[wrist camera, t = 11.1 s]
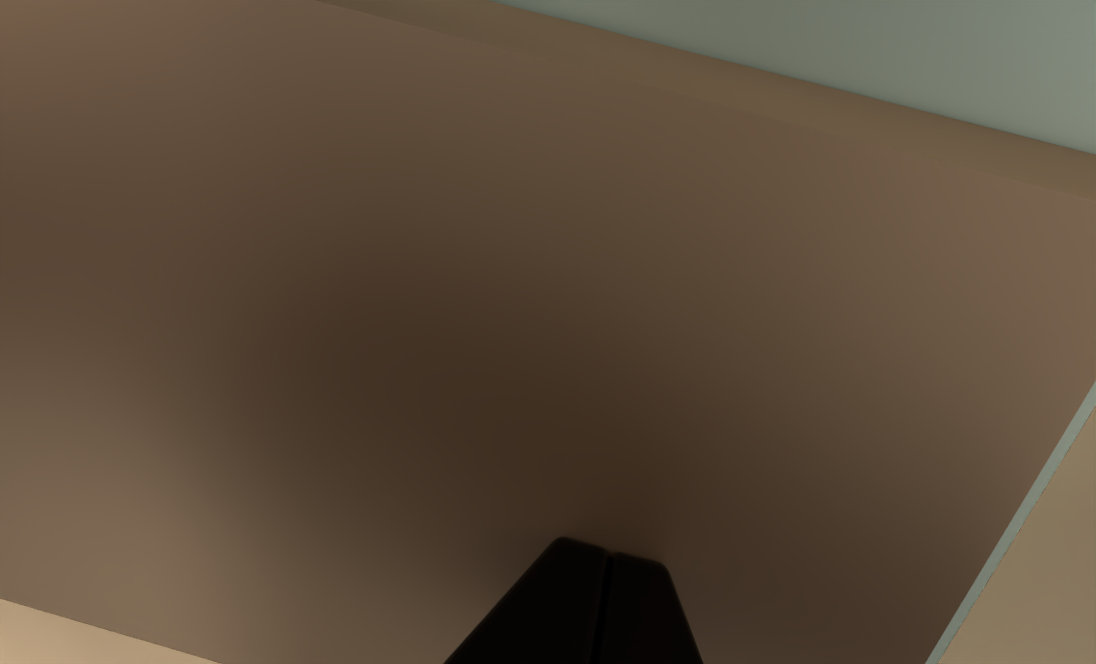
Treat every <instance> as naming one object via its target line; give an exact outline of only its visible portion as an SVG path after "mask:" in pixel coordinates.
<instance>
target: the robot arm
mask: <svg viewBox="0 0 1096 664" xmlns="http://www.w3.org/2000/svg"><path fill="white" fill-rule="evenodd" d="M608 562H609V555H608V552H607V550H606V549H605V548H603V547H601V546H598V545H594V544H590V543H587V542H583V541H579V540H575V539H572V538H568V537H563V536H562V537H558V538H556V539H555V540H553V541H552V542H551V543H550V544H549V545H548V547H547V548H546V549H545V550H544V551H543V552H542V553H541V554H540V555H539V557H538V558H537V559H536V560H535V561H534V562H533V563H532V564H531V566H530V567H529V568H528V569H527V570H526V571H525V572H524V573H523V574H522V576H521V577H520V578H519V579H518V580H517V581H516V582H515V583H514V585H513V586H512V587H511V588H510V589H509V590H508V591H507V592H506V593H505V595H504V596H503V597H502V598H501V599H500V600H499V601H498V602H497V604H496V605H495V606H494V607H493V608H492V609H491V610H490V611H489V612H488V614H487V615H486V616H485V617H484V618H483V619H482V620H481V621H480V623H479V624H478V625H477V626H476V627H475V628H474V629H473V630H472V631H471V633H470V634H469V635H468V636H467V637H466V638H465V639H464V640H463V642H462V643H461V644H460V645H459V646H458V647H457V648H456V649H455V650H454V652H453V653H452V654H451V655H450V656H449V657H448V658H447V659H446V661H445V662H444V663H443V664H704V663H703V660H702V657H701V655H700V652H699V649H698V647H697V644H696V642H695V639H694V636H693V634H692V631H691V628H690V626H689V623H688V620H687V618H686V615H685V612H684V610H683V607H682V604H681V602H680V599H679V596H678V594H677V591H676V588H675V586H674V583H673V580H672V578H671V575H670V573H669V571H668V569H667V568H666V567H665V566H664V565H663V564H661V563H659V562H656V561H652V560H649V559H645V558H641V557H638V556H634V555H630V554H627V553H623V552H619V553H616V554H614V555H613V556H612V557H611V559H610V562H609V564H608Z"/></svg>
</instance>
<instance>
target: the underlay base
mask: <svg viewBox="0 0 1096 664" xmlns="http://www.w3.org/2000/svg"><path fill="white" fill-rule="evenodd" d="M488 1H492V2H496V3H500V4H504V5H508V6H512V7H516V8H520V9H524V10H528V11H532V12H536V13H540V14H543V15H547V16H551V17H555V18H559V19H563V20H567V21H571V22H575V23H579V24H583V25H587V26H591V27H595V28H599V29H603V30H606V31H610V32H614V33H618V34H622V35H626V36H630V37H634V38H638V39H642V40H646V41H650V42H654V43H658V44H662V45H666V46H669V47H673V48H677V49H681V50H685V51H689V52H693V53H697V54H701V55H705V56H709V57H713V58H717V59H721V60H725V61H728V62H732V63H736V64H740V65H744V66H748V67H752V68H756V69H760V70H764V71H768V72H772V73H776V74H780V75H784V76H788V77H791V78H795V79H799V80H803V81H807V82H811V83H815V84H819V85H823V86H827V87H831V88H835V89H839V90H843V91H847V92H850V93H854V94H858V95H862V96H866V97H870V98H874V99H878V100H882V101H886V102H890V103H894V104H898V105H902V106H906V107H910V108H913V109H917V110H921V111H925V112H929V113H933V114H937V115H941V116H945V117H949V118H953V119H957V120H961V121H965V122H969V123H972V124H976V125H980V126H984V127H988V128H992V129H996V130H1000V131H1004V132H1008V133H1012V134H1016V135H1020V136H1024V137H1028V138H1032V139H1035V140H1039V141H1043V142H1047V143H1051V144H1055V145H1059V146H1063V147H1067V148H1071V149H1075V150H1079V151H1083V152H1087V153H1091V154H1094V155H1096V0H488ZM1095 406H1096V381H1095V383H1094V384H1093V386H1092V388H1091V389H1090V391H1089V393H1088V394H1087V396H1086V398H1085V399H1084V401H1083V403H1082V404H1081V406H1080V408H1079V409H1078V411H1077V413H1076V414H1075V416H1074V418H1073V419H1072V421H1071V423H1070V424H1069V426H1068V427H1067V429H1066V431H1065V432H1064V434H1063V436H1062V437H1061V439H1060V441H1059V442H1058V444H1057V446H1056V447H1055V449H1054V451H1053V452H1052V454H1051V456H1050V457H1049V459H1048V461H1047V462H1046V464H1045V466H1044V467H1043V469H1042V471H1041V472H1040V474H1039V476H1038V477H1037V479H1036V481H1035V482H1034V484H1033V486H1032V487H1031V489H1030V491H1029V492H1028V494H1027V495H1026V497H1025V499H1024V500H1023V502H1022V504H1021V505H1020V507H1019V509H1018V510H1017V512H1016V514H1015V515H1014V517H1013V519H1012V520H1011V522H1010V524H1009V525H1008V527H1007V529H1006V530H1005V532H1004V534H1003V535H1002V537H1001V539H1000V540H999V542H998V544H997V545H996V547H995V549H994V550H993V552H992V554H991V555H990V557H989V559H988V560H987V562H986V563H985V565H984V567H983V568H982V570H981V572H980V573H979V575H978V577H977V578H976V580H975V582H974V583H973V585H972V587H971V588H970V590H969V592H968V593H967V595H966V597H965V598H964V600H963V602H962V603H961V605H960V607H959V608H958V610H957V612H956V613H955V615H954V617H953V618H952V620H951V622H950V623H949V625H948V627H947V628H946V630H945V631H944V633H943V635H942V636H941V638H940V640H939V641H938V643H937V645H936V646H935V648H934V650H933V651H932V653H931V655H930V656H929V658H928V660H927V661H926V663H925V664H937V663H938V662H939V660H940V659H941V657H942V655H943V654H944V652H945V650H946V649H947V647H948V645H949V644H950V642H951V641H952V639H953V637H954V636H955V634H956V632H957V631H958V629H959V628H960V626H961V624H962V623H963V621H964V619H965V618H966V616H967V614H968V613H969V611H970V610H971V608H972V606H973V605H974V603H975V601H976V600H977V598H978V597H979V595H980V593H981V592H982V590H983V588H984V587H985V585H986V583H987V582H988V580H989V579H990V577H991V575H992V574H993V572H994V570H995V569H996V567H997V566H998V564H999V562H1000V561H1001V559H1002V557H1003V556H1004V554H1005V552H1006V551H1007V549H1008V548H1009V546H1010V544H1011V543H1012V541H1013V539H1014V538H1015V536H1016V535H1017V533H1018V531H1019V530H1020V528H1021V526H1022V525H1023V523H1024V521H1025V520H1026V518H1027V517H1028V515H1029V513H1030V512H1031V510H1032V508H1033V507H1034V505H1035V504H1036V502H1037V500H1038V499H1039V497H1040V495H1041V494H1042V492H1043V490H1044V489H1045V487H1046V486H1047V484H1048V482H1049V481H1050V479H1051V477H1052V476H1053V474H1054V473H1055V471H1056V469H1057V468H1058V466H1059V464H1060V463H1061V461H1062V459H1063V458H1064V456H1065V455H1066V453H1067V451H1068V450H1069V448H1070V446H1071V445H1072V443H1073V442H1074V440H1075V438H1076V437H1077V435H1078V433H1079V432H1080V430H1081V428H1082V427H1083V425H1084V424H1085V422H1086V420H1087V419H1088V417H1089V415H1090V414H1091V412H1092V411H1093V409H1094V407H1095Z"/></svg>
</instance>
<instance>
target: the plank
mask: <svg viewBox="0 0 1096 664" xmlns="http://www.w3.org/2000/svg"><path fill="white" fill-rule="evenodd" d="M1095 381H1096V155H1094V154H1091V153H1087V152H1083V151H1079V150H1075V149H1071V148H1067V147H1063V146H1059V145H1055V144H1051V143H1047V142H1043V141H1039V140H1035V139H1032V138H1028V137H1024V136H1020V135H1016V134H1012V133H1008V132H1004V131H1000V130H996V129H992V128H988V127H984V126H980V125H976V124H972V123H969V122H965V121H961V120H957V119H953V118H949V117H945V116H941V115H937V114H933V113H929V112H925V111H921V110H917V109H913V108H910V107H906V106H902V105H898V104H894V103H890V102H886V101H882V100H878V99H874V98H870V97H866V96H862V95H858V94H854V93H850V92H847V91H843V90H839V89H835V88H831V87H827V86H823V85H819V84H815V83H811V82H807V81H803V80H799V79H795V78H791V77H788V76H784V75H780V74H776V73H772V72H768V71H764V70H760V69H756V68H752V67H748V66H744V65H740V64H736V63H732V62H728V61H725V60H721V59H717V58H713V57H709V56H705V55H701V54H697V53H693V52H689V51H685V50H681V49H677V48H673V47H669V46H666V45H662V44H658V43H654V42H650V41H646V40H642V39H638V38H634V37H630V36H626V35H622V34H618V33H614V32H610V31H606V30H603V29H599V28H595V27H591V26H587V25H583V24H579V23H575V22H571V21H567V20H563V19H559V18H555V17H551V16H547V15H543V14H540V13H536V12H532V11H528V10H524V9H520V8H516V7H512V6H508V5H504V4H500V3H496V2H492V1H488V0H0V599H4V600H7V601H11V602H14V603H17V604H21V605H24V606H28V607H31V608H34V609H38V610H41V611H45V612H48V613H51V614H55V615H58V616H62V617H65V618H69V619H72V620H75V621H79V622H82V623H86V624H89V625H92V626H96V627H99V628H103V629H106V630H109V631H113V632H116V633H120V634H123V635H126V636H130V637H133V638H137V639H140V640H143V641H147V642H150V643H154V644H157V645H160V646H164V647H167V648H171V649H174V650H178V651H181V652H184V653H188V654H191V655H195V656H198V657H201V658H205V659H208V660H212V661H215V662H218V663H222V664H443V663H444V662H445V661H446V659H447V658H448V657H449V656H450V655H451V654H452V653H453V652H454V650H455V649H456V648H457V647H458V646H459V645H460V644H461V643H462V642H463V640H464V639H465V638H466V637H467V636H468V635H469V634H470V633H471V631H472V630H473V629H474V628H475V627H476V626H477V625H478V624H479V623H480V621H481V620H482V619H483V618H484V617H485V616H486V615H487V614H488V612H489V611H490V610H491V609H492V608H493V607H494V606H495V605H496V604H497V602H498V601H499V600H500V599H501V598H502V597H503V596H504V595H505V593H506V592H507V591H508V590H509V589H510V588H511V587H512V586H513V585H514V583H515V582H516V581H517V580H518V579H519V578H520V577H521V576H522V574H523V573H524V572H525V571H526V570H527V569H528V568H529V567H530V566H531V564H532V563H533V562H534V561H535V560H536V559H537V558H538V557H539V555H540V554H541V553H542V552H543V551H544V550H545V549H546V548H547V547H548V545H549V544H550V543H551V542H552V541H553V540H555V539H556V538H558V537H562V536H563V537H568V538H572V539H575V540H579V541H583V542H587V543H590V544H594V545H598V546H601V547H603V548H605V549H606V550H607V552H608V555H609V562H610V559H611V557H612V556H613V555H614V554H616V553H619V552H623V553H627V554H630V555H634V556H638V557H641V558H645V559H649V560H652V561H656V562H659V563H661V564H663V565H664V566H665V567H666V568H667V569H668V571H669V573H670V575H671V578H672V580H673V583H674V586H675V588H676V591H677V594H678V596H679V599H680V602H681V604H682V607H683V610H684V612H685V615H686V618H687V620H688V623H689V626H690V628H691V631H692V634H693V636H694V639H695V642H696V644H697V647H698V649H699V652H700V655H701V657H702V660H703V663H704V664H925V663H926V661H927V660H928V658H929V656H930V655H931V653H932V651H933V650H934V648H935V646H936V645H937V643H938V641H939V640H940V638H941V636H942V635H943V633H944V631H945V630H946V628H947V627H948V625H949V623H950V622H951V620H952V618H953V617H954V615H955V613H956V612H957V610H958V608H959V607H960V605H961V603H962V602H963V600H964V598H965V597H966V595H967V593H968V592H969V590H970V588H971V587H972V585H973V583H974V582H975V580H976V578H977V577H978V575H979V573H980V572H981V570H982V568H983V567H984V565H985V563H986V562H987V560H988V559H989V557H990V555H991V554H992V552H993V550H994V549H995V547H996V545H997V544H998V542H999V540H1000V539H1001V537H1002V535H1003V534H1004V532H1005V530H1006V529H1007V527H1008V525H1009V524H1010V522H1011V520H1012V519H1013V517H1014V515H1015V514H1016V512H1017V510H1018V509H1019V507H1020V505H1021V504H1022V502H1023V500H1024V499H1025V497H1026V495H1027V494H1028V492H1029V491H1030V489H1031V487H1032V486H1033V484H1034V482H1035V481H1036V479H1037V477H1038V476H1039V474H1040V472H1041V471H1042V469H1043V467H1044V466H1045V464H1046V462H1047V461H1048V459H1049V457H1050V456H1051V454H1052V452H1053V451H1054V449H1055V447H1056V446H1057V444H1058V442H1059V441H1060V439H1061V437H1062V436H1063V434H1064V432H1065V431H1066V429H1067V427H1068V426H1069V424H1070V423H1071V421H1072V419H1073V418H1074V416H1075V414H1076V413H1077V411H1078V409H1079V408H1080V406H1081V404H1082V403H1083V401H1084V399H1085V398H1086V396H1087V394H1088V393H1089V391H1090V389H1091V388H1092V386H1093V384H1094V383H1095ZM609 562H608V564H609Z"/></svg>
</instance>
